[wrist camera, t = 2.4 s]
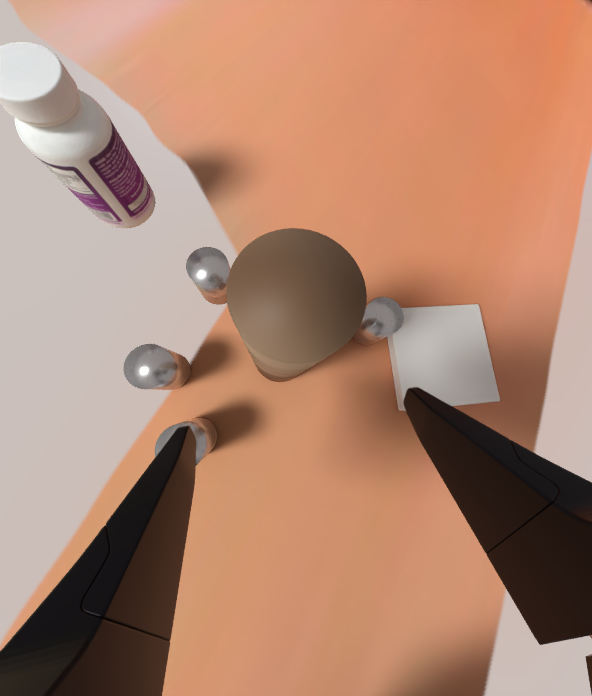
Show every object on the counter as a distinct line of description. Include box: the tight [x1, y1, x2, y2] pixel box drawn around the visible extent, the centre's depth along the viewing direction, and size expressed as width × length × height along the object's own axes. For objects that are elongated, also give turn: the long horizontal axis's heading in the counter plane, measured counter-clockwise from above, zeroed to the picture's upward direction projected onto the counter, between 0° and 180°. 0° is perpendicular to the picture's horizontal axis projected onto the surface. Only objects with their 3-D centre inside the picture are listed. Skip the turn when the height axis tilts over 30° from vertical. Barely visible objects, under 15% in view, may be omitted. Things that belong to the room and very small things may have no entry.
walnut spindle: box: [226, 228, 367, 382], centre depth 15 cm, size 4×4×14 cm
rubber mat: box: [387, 304, 500, 411], centre depth 22 cm, size 9×9×1 cm
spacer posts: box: [124, 247, 404, 465], centre depth 19 cm, size 16×20×4 cm
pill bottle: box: [0, 42, 155, 228], centre depth 18 cm, size 5×5×10 cm
